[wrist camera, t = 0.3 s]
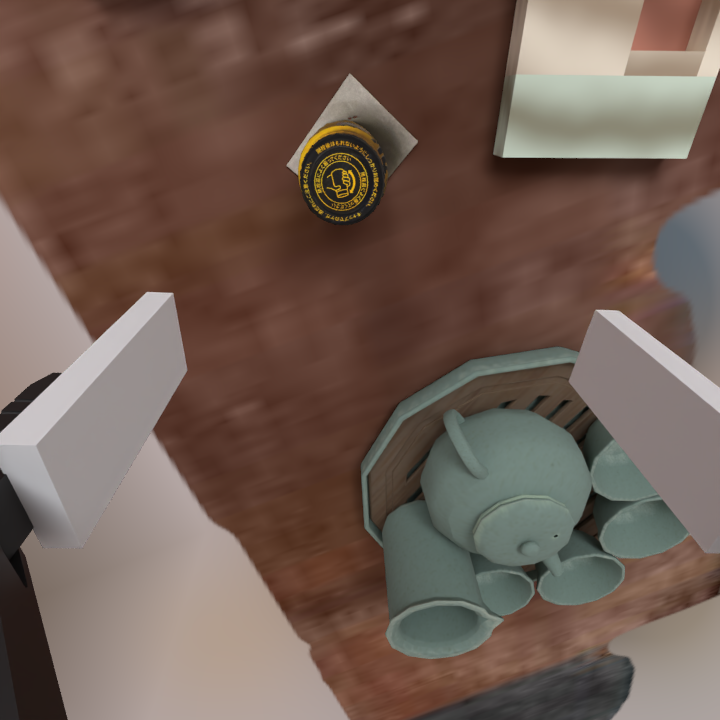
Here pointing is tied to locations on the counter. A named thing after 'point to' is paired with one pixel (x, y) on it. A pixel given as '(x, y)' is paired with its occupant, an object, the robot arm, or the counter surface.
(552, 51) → the trap deck
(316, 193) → the condiment
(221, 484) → the counter surface
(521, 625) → the counter surface
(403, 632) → the tea set
